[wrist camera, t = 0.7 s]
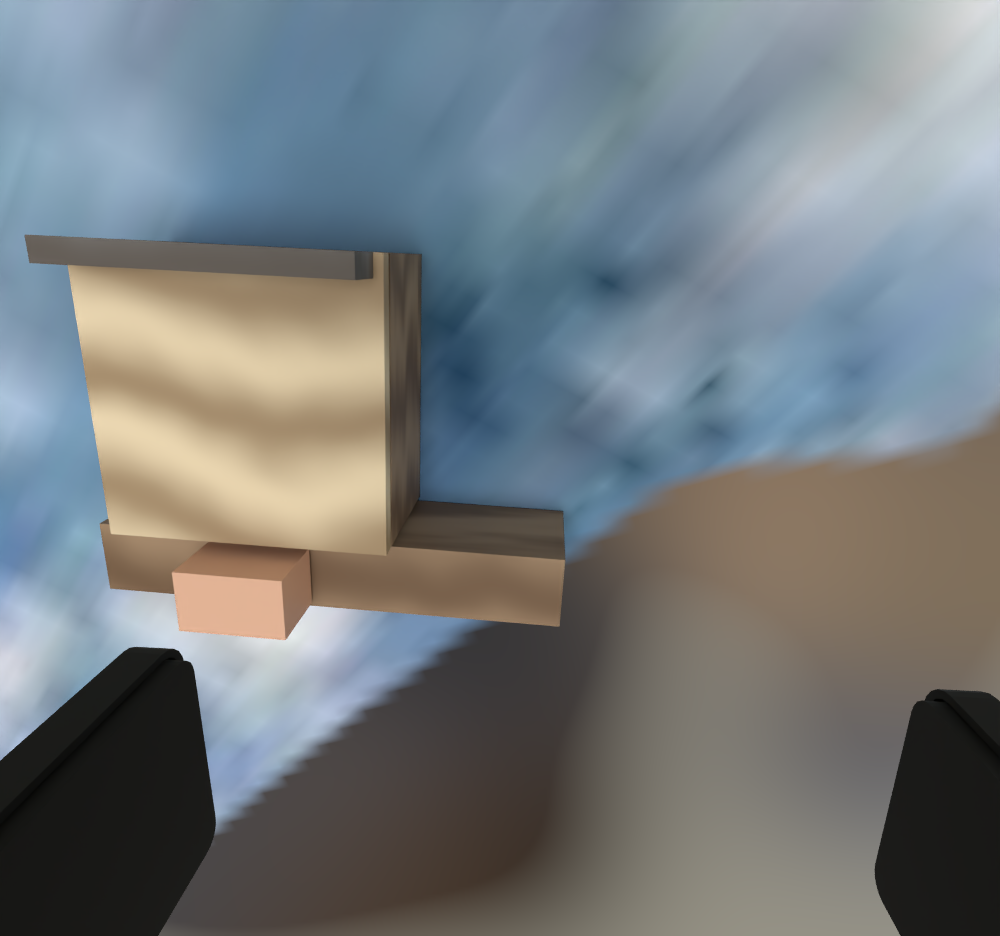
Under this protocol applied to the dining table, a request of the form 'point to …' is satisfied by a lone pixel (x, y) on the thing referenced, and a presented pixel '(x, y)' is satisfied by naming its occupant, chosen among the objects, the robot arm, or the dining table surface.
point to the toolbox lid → (236, 389)
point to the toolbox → (405, 524)
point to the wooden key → (243, 590)
